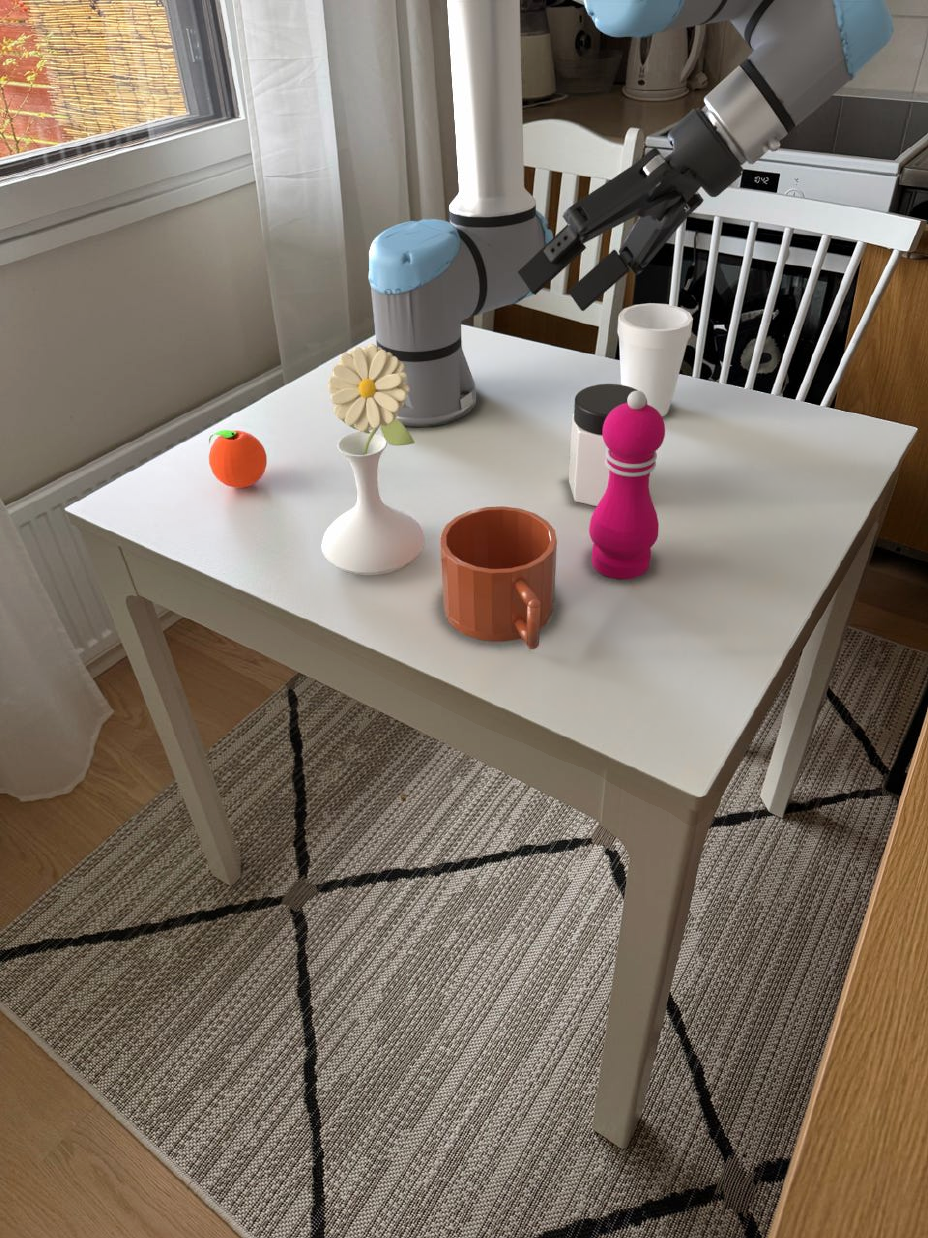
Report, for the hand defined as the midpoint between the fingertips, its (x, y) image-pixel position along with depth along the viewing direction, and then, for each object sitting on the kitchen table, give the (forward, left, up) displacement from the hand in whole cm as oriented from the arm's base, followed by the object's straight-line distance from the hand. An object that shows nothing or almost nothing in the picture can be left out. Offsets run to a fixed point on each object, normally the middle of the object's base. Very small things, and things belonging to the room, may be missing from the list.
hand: (552, 293), depth 95 cm
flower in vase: (+6, -23, -24) cm, 34 cm away
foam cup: (-14, +21, -24) cm, 35 cm away
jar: (+3, +6, -24) cm, 25 cm away
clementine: (-16, -35, -24) cm, 45 cm away
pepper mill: (+17, +1, -24) cm, 30 cm away
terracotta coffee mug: (+21, -14, -24) cm, 35 cm away
